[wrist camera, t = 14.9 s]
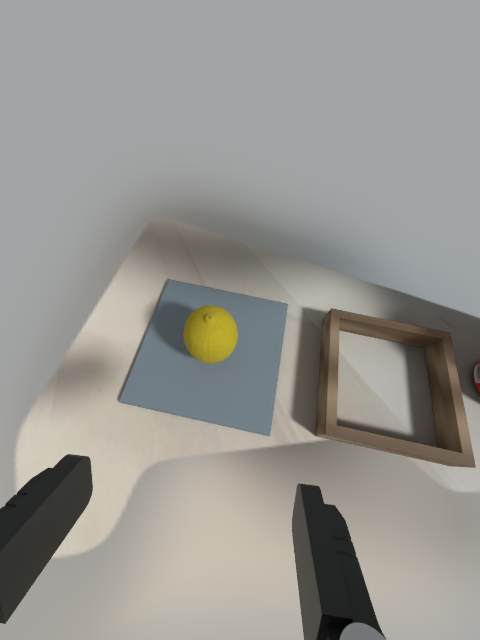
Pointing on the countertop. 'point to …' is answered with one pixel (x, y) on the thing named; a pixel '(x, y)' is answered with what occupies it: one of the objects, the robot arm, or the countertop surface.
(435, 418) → the walnut frame
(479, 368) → the soda can
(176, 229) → the countertop surface
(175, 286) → the slate mat
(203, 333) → the lemon
